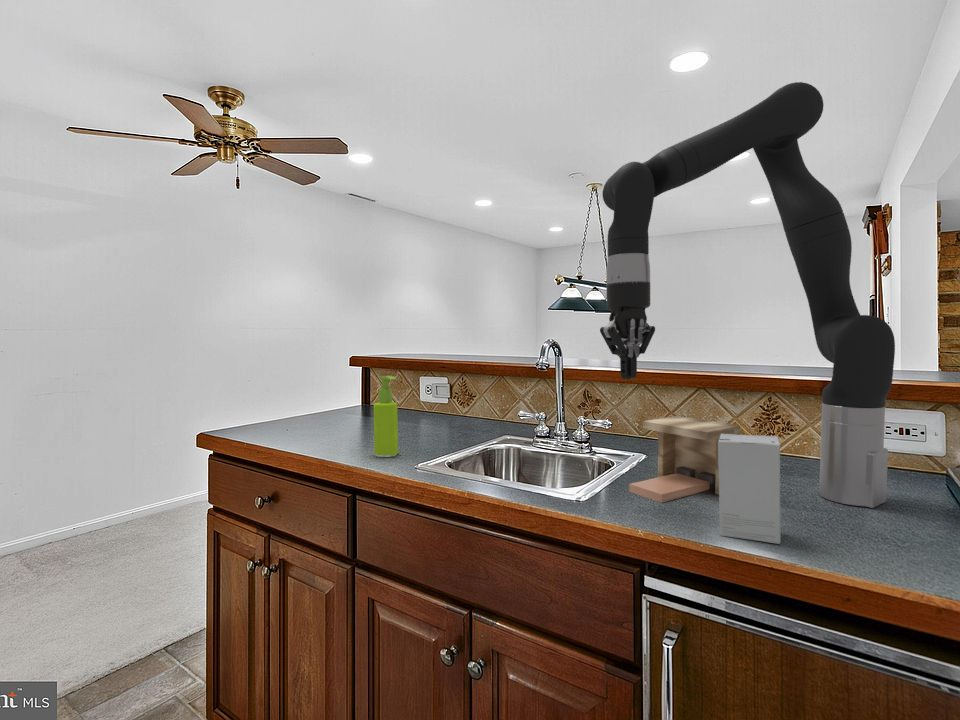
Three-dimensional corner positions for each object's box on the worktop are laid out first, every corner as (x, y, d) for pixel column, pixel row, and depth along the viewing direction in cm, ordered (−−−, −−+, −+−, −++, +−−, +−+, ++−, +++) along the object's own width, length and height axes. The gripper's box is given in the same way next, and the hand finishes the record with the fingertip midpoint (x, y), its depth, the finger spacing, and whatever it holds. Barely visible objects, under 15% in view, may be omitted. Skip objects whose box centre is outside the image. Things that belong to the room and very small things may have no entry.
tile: (709, 492, 99) (709, 482, 99) (661, 505, 92) (661, 494, 92) (676, 482, 106) (676, 473, 106) (629, 494, 98) (629, 483, 98)
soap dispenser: (384, 460, 124) (382, 377, 123) (370, 454, 129) (368, 375, 128) (404, 456, 128) (403, 376, 127) (390, 451, 133) (389, 374, 132)
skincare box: (779, 532, 78) (781, 435, 77) (780, 547, 73) (783, 443, 72) (718, 522, 82) (720, 431, 81) (716, 536, 77) (718, 438, 76)
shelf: (738, 489, 99) (740, 425, 98) (705, 500, 93) (707, 432, 92) (675, 473, 111) (676, 415, 110) (642, 481, 104) (642, 421, 104)
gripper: (620, 278, 84) (621, 382, 85) (668, 281, 92) (669, 377, 93) (586, 282, 91) (587, 380, 92) (634, 285, 98) (634, 375, 99)
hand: (628, 378), depth 92 cm, fingers closed
